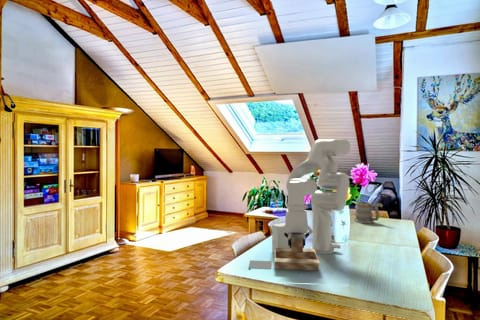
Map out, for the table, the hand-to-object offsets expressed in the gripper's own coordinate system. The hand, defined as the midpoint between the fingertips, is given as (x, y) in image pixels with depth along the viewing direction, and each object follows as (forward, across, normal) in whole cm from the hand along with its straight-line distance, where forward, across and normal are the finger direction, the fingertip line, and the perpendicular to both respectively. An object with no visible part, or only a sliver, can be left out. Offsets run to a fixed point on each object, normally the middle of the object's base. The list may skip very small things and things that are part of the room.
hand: (296, 246), depth 151 cm
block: (+1, 0, 0) cm, 1 cm away
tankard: (+13, -58, -97) cm, 114 cm away
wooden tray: (+8, +1, +1) cm, 9 cm away
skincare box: (+9, +7, -17) cm, 20 cm away
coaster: (+8, +17, +3) cm, 19 cm away
